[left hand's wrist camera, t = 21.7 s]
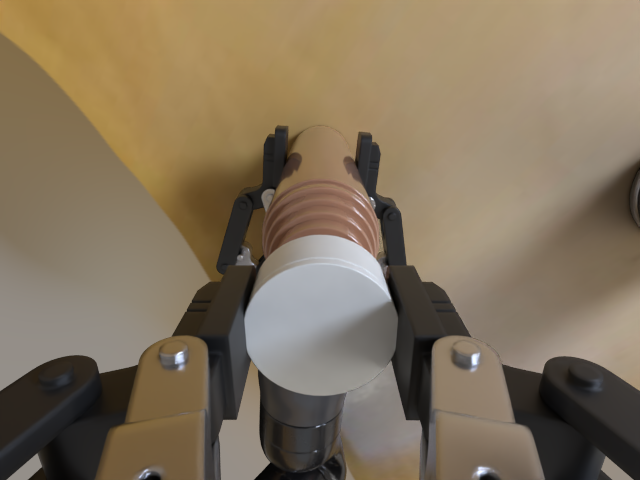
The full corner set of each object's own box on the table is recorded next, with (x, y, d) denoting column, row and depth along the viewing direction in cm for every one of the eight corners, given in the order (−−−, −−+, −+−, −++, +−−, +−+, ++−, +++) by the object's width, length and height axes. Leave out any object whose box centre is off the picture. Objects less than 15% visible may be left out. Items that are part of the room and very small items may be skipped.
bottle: (358, 169, 33) (435, 356, 11) (306, 193, 34) (282, 413, 12) (334, 115, 32) (369, 207, 10) (280, 141, 32) (196, 283, 10)
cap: (266, 220, 11) (256, 247, 9) (405, 249, 11) (420, 282, 10) (244, 338, 12) (231, 382, 11) (367, 361, 13) (375, 407, 11)
